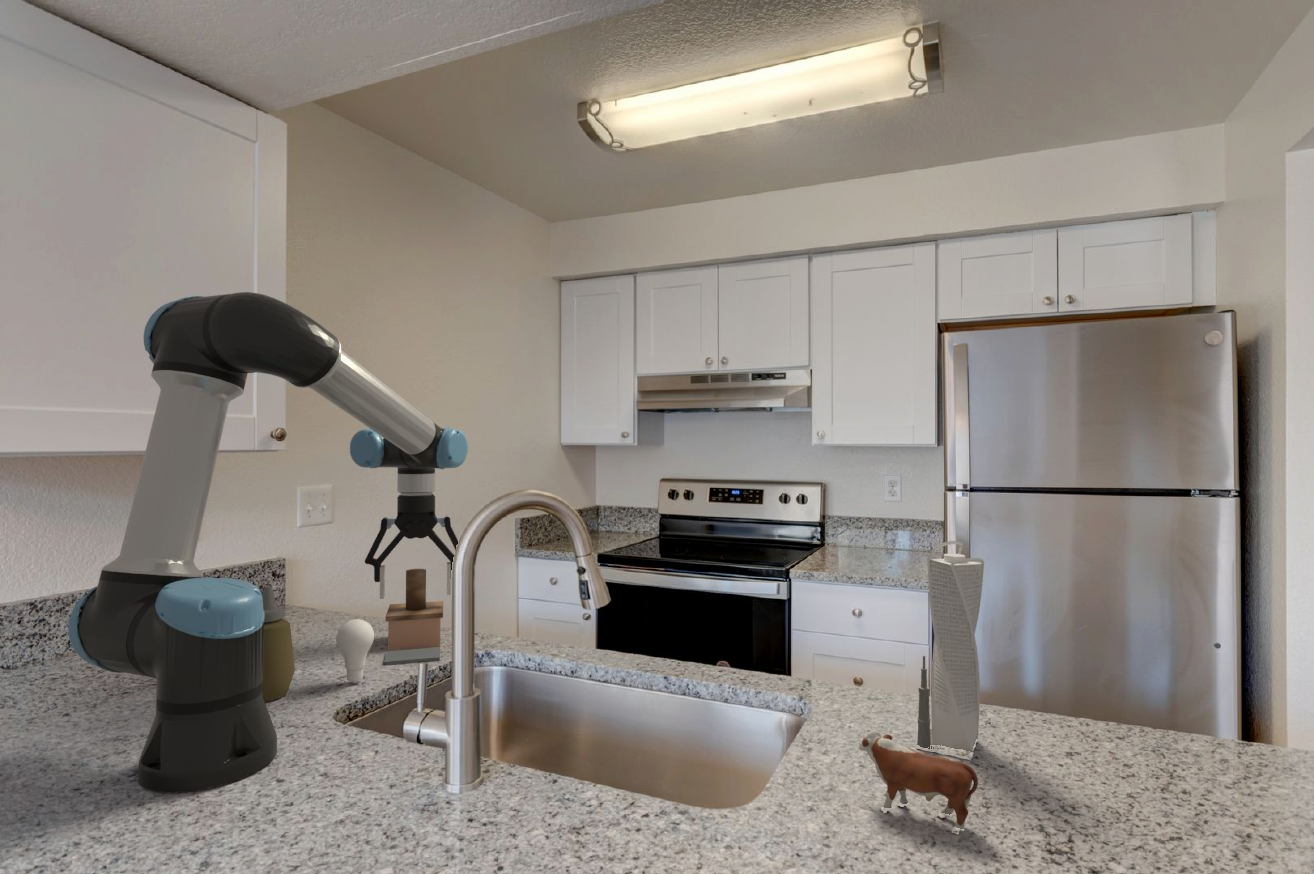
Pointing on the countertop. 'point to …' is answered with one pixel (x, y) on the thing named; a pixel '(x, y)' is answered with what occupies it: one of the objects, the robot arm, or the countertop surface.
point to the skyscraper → (952, 653)
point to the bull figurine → (920, 774)
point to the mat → (412, 656)
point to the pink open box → (414, 634)
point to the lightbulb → (355, 646)
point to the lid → (415, 600)
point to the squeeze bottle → (276, 649)
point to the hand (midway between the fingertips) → (415, 595)
